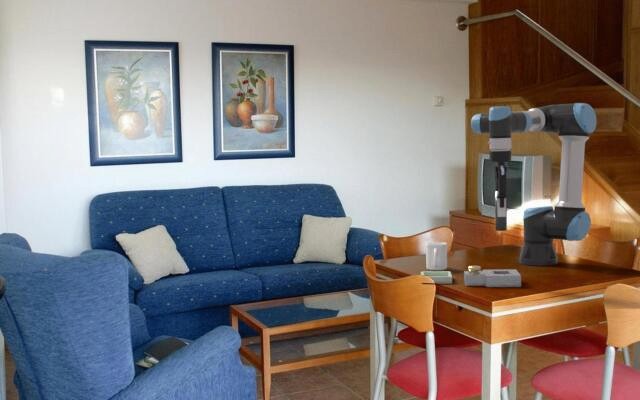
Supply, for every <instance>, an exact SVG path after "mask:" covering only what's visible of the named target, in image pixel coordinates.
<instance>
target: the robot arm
mask: <svg viewBox="0 0 640 400" xmlns="http://www.w3.org/2000/svg"><path fill="white" fill-rule="evenodd" d="M488 112H489V113H483V112H482V113H477V114H475V115H473V116H472V118H471V120H470V126H471V130H472V132H473V133H474V134H477V135H478V134H481V135H484V134H485V135H486V134H487V135H488V134H489V140H488V141H487V144H488V145H489V150H490V151H489V162H491V163H493V162H494V163H495V166H494V169H493V170H494V179H495V180H494V182H495V185H494V187H495V188H494V190H495V191H498V197H496V199H498V217H506V198H507V196H508V195H507V172H508V168H507V166H506V164H505V163H506V162H511V161H512V151H511V149H512V134H522V133H527V132H528V131H530V132H532V133H547V134H558V136H557V137H558V139H559V140H560V141H561V157H560V175H559V177H560V178H559V191H558V192H559V193H558V202H557V203H556V204H554V207H553V206H552V205H547V206H538V207H529V208H526V209H525V210H524V212H523V218H522V221H523V245H522V249H521V250H520V251H521V252H520V255H519V259H518V260H519V264H522V265H524V266H525V265H526V266H536V267H537V266H539V267H542V266H546V267H547V266H553V265H555V266H556V265H558V264H559V263H558V262H559V260H558V254H557V252H556V249H555V246H554V240H560V241H568V242H579V241H583V240H584V239H585V238H586V237H587V235H588V234H589V231H590V229H591V225H592V224H591V223H592V219H591V215H590V213H588V211H586V206H585V205H584V204H583V203H582V202H583V201H582V198H583V197H582V196H583V182H584V166H585V164H584V163H585V147H586V142H587V141H588V140H589V139H590V134H592V133H593V132H594V131H596V127H597V115H596V112H595V110H594V108H593V107H592V106H591V105H590V104H588V103H583V102H574V103H564V104H563V103H561V104H558V103H557V104H550V105H546V106H540V107H534V108H529V109H528V110H523V111H521V110H520V111H511V107H510V106H506V105H505V106H504V105H503V106H492V107H490V108H489V111H488ZM495 191H494V192H495Z"/></svg>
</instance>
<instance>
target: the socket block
mask: <svg viewBox="0 0 640 400" xmlns="http://www.w3.org/2000/svg"><path fill="white" fill-rule="evenodd" d="M518 271H519V270H517V269H512V268H511V269H505V268H504V269H482V270H480V271H478V274H471V271H469V270H463V283H464V286H466V287H467V286H469V287H471V286H473V287H475V286H477V287H480V286H481V287H482V286H483V287H486V288H521V287H522V275H521V273H519V272H518Z"/></svg>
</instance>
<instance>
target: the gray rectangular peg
mask: <svg viewBox="0 0 640 400" xmlns="http://www.w3.org/2000/svg"><path fill="white" fill-rule="evenodd" d="M496 197H498V191H494V226H495V227H494V229H495V231H497V232H504V231H505V232H506V231H507V230H508V224H507V223H508V220H507V218H508V217H507V215H508V214H507V213H508V211H507V210H508V209H507V208H508V207H507V197H506V217H498V199H496Z"/></svg>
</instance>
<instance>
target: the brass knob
mask: <svg viewBox="0 0 640 400" xmlns="http://www.w3.org/2000/svg"><path fill="white" fill-rule="evenodd" d="M467 267H468V268H467V271H471V274H478V271H482V266H480V265H469V266H468V265H467Z"/></svg>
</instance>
